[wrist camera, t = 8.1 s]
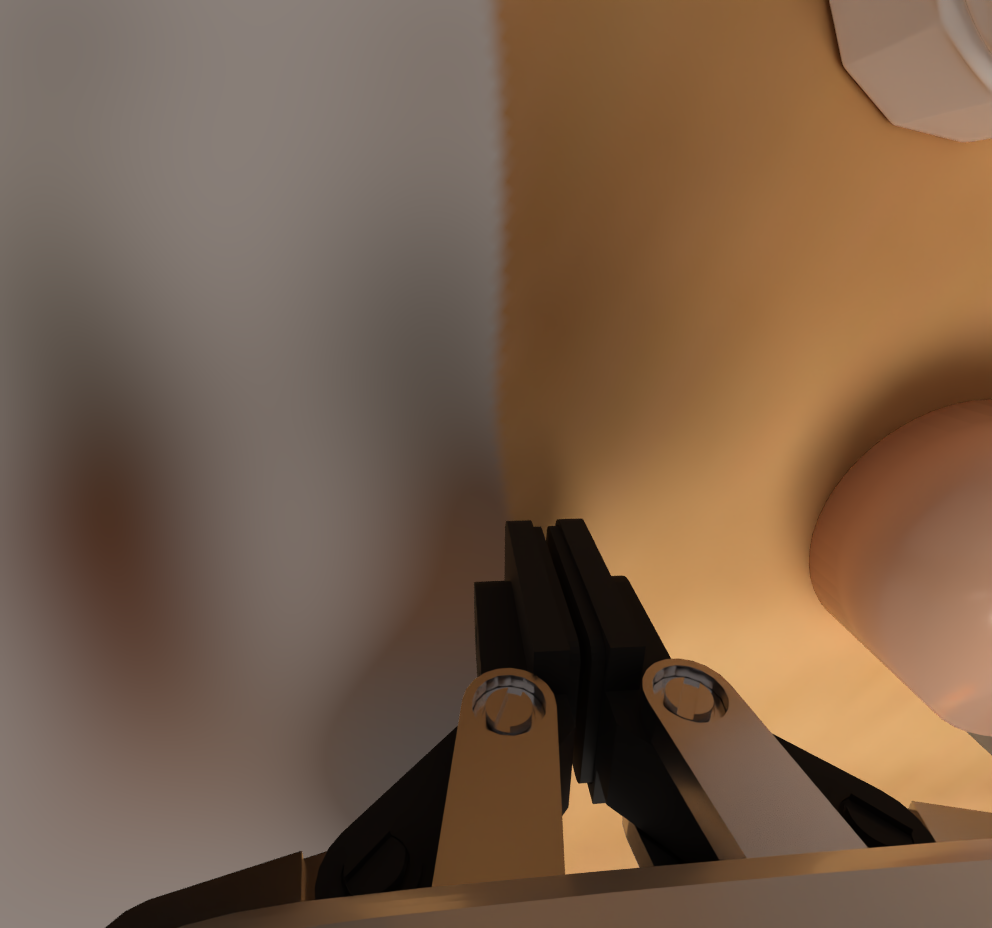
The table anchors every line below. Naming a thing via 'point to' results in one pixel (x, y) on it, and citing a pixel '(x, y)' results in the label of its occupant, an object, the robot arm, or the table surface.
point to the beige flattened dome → (918, 559)
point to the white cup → (922, 62)
